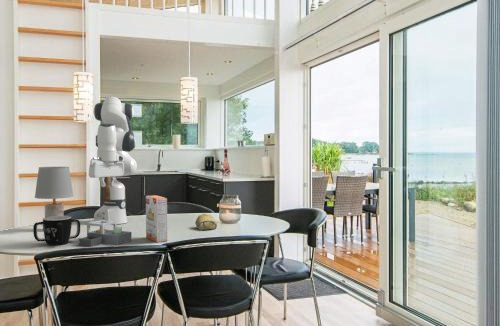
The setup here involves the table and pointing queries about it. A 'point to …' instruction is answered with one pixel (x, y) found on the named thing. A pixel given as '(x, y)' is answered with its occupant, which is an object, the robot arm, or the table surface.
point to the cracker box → (156, 218)
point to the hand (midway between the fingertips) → (106, 186)
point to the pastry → (205, 222)
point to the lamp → (53, 188)
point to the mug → (56, 230)
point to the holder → (90, 241)
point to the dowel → (106, 189)
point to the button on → (117, 230)
